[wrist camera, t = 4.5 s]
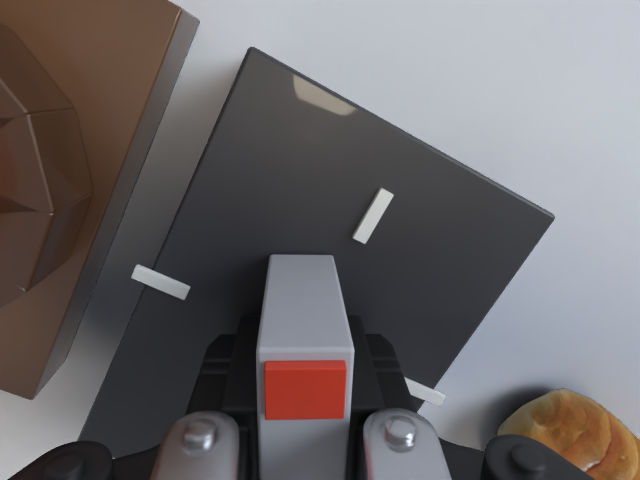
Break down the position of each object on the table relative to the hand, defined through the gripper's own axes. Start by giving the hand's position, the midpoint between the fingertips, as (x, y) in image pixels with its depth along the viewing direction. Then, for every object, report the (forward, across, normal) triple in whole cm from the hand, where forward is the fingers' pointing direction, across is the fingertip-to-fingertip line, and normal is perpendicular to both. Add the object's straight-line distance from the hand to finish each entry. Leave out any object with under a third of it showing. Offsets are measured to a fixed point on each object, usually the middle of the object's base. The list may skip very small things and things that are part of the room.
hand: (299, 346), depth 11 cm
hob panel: (+3, 0, 0) cm, 3 cm away
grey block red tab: (0, 0, 0) cm, 0 cm away
